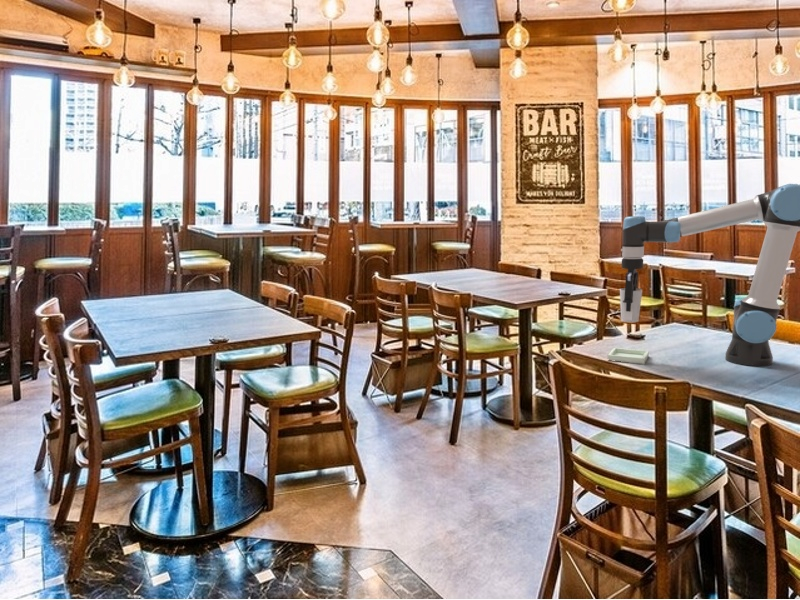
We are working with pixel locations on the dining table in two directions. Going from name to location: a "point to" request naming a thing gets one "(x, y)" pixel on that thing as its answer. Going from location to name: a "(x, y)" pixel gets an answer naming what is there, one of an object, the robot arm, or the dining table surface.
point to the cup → (636, 304)
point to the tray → (628, 355)
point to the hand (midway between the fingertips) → (629, 317)
